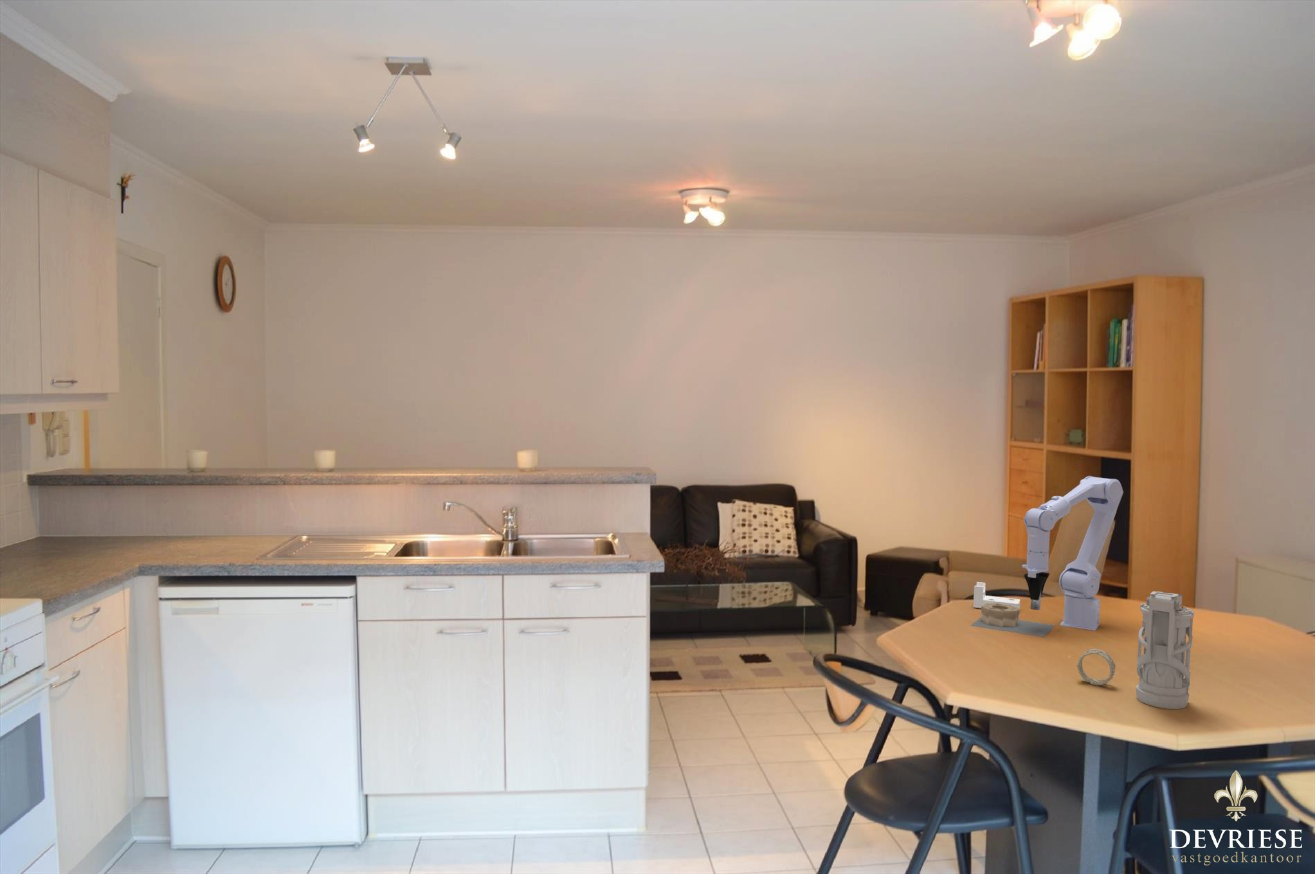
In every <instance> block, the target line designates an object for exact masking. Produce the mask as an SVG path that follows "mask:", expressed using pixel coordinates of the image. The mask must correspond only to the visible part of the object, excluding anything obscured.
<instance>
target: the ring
mask: <svg viewBox="0 0 1315 874" xmlns="http://www.w3.org/2000/svg"><path fill="white" fill-rule="evenodd" d="M980 609H981V610H980V611H981V612H980V614H981V615H980V618H981V622H984V623H986V624H988V625H993V626H1000V627H1015V626H1016V625H1017V624H1018V620H1019V615H1020V610H1019V608H1017V607H1014V606H1012V605H1006V604H999V603H989V604H984V605H982V607H981V608H980Z"/></svg>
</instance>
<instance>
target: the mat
mask: <svg viewBox="0 0 1315 874" xmlns="http://www.w3.org/2000/svg"><path fill="white" fill-rule="evenodd" d="M970 626H971V627H977V628H981V629H982V628H983V629H990V630H995V631H1002V632H1007V633H1008V632H1010V633H1016V634H1021V635H1029V636H1034V637H1040V638H1045V637H1046V636H1047V635H1048V634H1049V633H1050V632H1051V631H1052V630H1053V628H1054V627H1056V625H1055V624H1048V623H1042V622H1036V621H1029V620H1021V619H1018V624H1017V625H1016V626H1015V627H1000V626H993V625H988V624H986V623H984V622H981V617H980V618H978V619H977V620H975V621H974V622H973V623H971V624H970Z"/></svg>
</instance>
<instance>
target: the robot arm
mask: <svg viewBox="0 0 1315 874" xmlns="http://www.w3.org/2000/svg"><path fill="white" fill-rule="evenodd" d="M1123 494H1124V490H1123V487H1122V484H1121V482H1120V480H1119V479H1116V478H1106V477H1105V478H1103V477H1096V476H1092V475H1088V476H1086V477H1084V478H1083V479H1080V481H1079V484H1078V485H1077V486H1075V487H1074V488H1073V489H1072V490H1070V491H1069V492H1067V494H1065V495H1064V496H1060V495H1054V496H1052V497H1051V499H1050V500H1048V501H1046V502H1045V503H1042V504H1041V505H1039V507H1037V508H1036V507H1035V508H1033V507H1032V508H1031V509H1029V510H1027V511H1026V513H1025V515H1024V517H1023V523H1024V525H1025V528H1026V531H1025V532H1026V533H1027V545H1026V546H1027V548H1026V549H1027V550H1026V564H1022V565H1021V568H1022V569H1026V571H1027V573H1024V574H1023V578H1024V579H1025V581H1026V584H1027V587H1028V594H1029V598H1030V601H1031V600H1039V598H1040V593H1041V597H1042V596H1043V593H1044V589H1045V585H1046V582H1047V580H1048V578H1049V576H1050V573H1049V569H1050V567H1049V560H1050V559H1049V557H1050V535H1051V534H1050V533H1051V530H1053V529H1054V527H1055V526H1056V523H1057V522H1058V521H1059V520H1060V519H1062V518H1063V517H1065V516H1066V515H1068V514H1070V512H1071V508H1072V507H1073V506H1075V505H1077V504H1079V503H1081V502H1083V501H1085V500H1086V501H1087V502H1088V505H1090V506H1091V507H1092V508H1093V510H1094V511H1093V512H1094V513H1093V515H1092V518H1091V521H1090V524H1089V525H1088V528H1087V531H1086V532H1085V536H1084V539H1083V541H1082V543H1081V547H1080V548H1079V552H1078V554H1077V557H1076V559H1075V560H1073V561H1072V562H1069V563H1068V564H1066V565H1065V569H1064V570H1063V571H1062V572H1061V573H1060V575H1059V579H1058V585H1059V587H1060V589H1061V590H1062V594H1064V603H1063V604H1064V606H1063V620H1062V621H1061V622H1060V624H1059V626H1061V627H1069V628H1073V629H1074V628H1075V629H1082V630H1089V631H1097V629H1098V628H1099V626H1100V609H1101V599H1100V598H1098V597H1095V596H1096V595H1097V593H1098V592H1099V588H1100V579H1101V577H1102V575H1101V573H1100V571H1099V570H1098V568H1097V567H1096V566H1097V563H1098V560H1099V558H1100V555H1101V552H1102V551H1103V548H1104V546H1105V543H1106V540H1107V538H1108V535H1109V532H1110V530H1111V527H1112V524H1113V521H1114V519H1115V516H1116V514H1117V510H1118V507H1119V505H1120V503H1121V500H1122V497H1123Z"/></svg>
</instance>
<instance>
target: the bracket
mask: <svg viewBox="0 0 1315 874" xmlns="http://www.w3.org/2000/svg"><path fill="white" fill-rule="evenodd" d="M989 603H999V604H1006V605H1012V606H1014V607H1017V608H1019V611H1020V610H1021V598H1019V599H1018V598H1012V597H1002V596H994V595H993V596H992V595H986V582H981V581H980V582H979V581H976V585H974V587H973V603H972V604H973V606H972V607H973V608H977V609H981V607H982V605H984V604H989Z"/></svg>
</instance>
